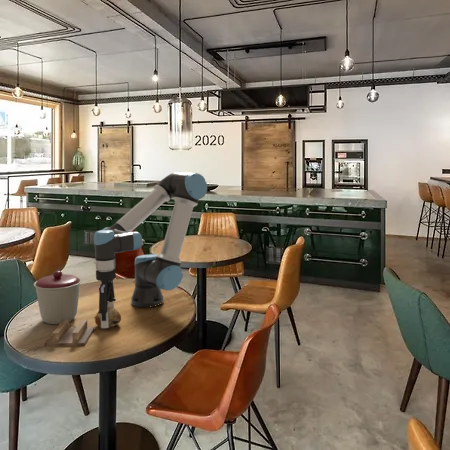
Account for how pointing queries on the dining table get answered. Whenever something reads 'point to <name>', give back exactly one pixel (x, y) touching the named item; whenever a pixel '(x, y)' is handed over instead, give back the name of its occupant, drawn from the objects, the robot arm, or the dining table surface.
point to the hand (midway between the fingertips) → (107, 322)
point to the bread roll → (109, 317)
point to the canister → (58, 297)
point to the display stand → (70, 334)
